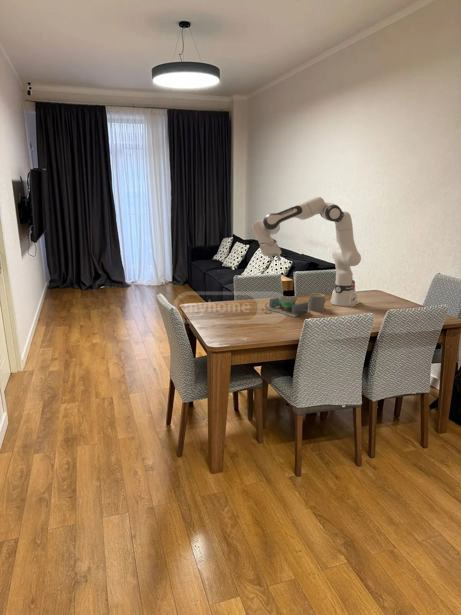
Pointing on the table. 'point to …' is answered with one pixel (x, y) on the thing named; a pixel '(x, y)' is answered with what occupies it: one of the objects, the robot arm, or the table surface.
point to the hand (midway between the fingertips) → (276, 260)
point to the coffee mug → (316, 302)
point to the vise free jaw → (275, 302)
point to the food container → (287, 303)
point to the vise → (294, 309)
